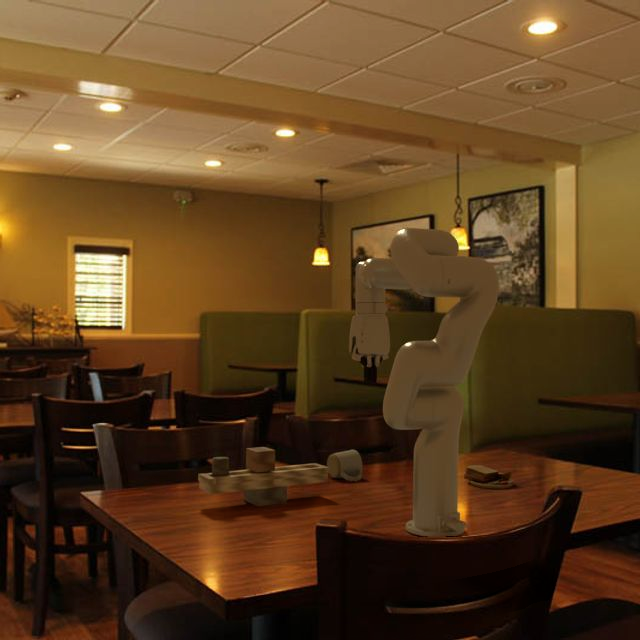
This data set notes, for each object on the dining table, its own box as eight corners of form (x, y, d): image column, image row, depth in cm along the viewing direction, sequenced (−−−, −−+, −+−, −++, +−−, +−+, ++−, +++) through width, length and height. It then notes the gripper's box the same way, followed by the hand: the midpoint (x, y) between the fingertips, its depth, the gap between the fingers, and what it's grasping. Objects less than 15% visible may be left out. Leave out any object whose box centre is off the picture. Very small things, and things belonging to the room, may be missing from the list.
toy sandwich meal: (494, 492, 216) (494, 474, 216) (456, 483, 227) (456, 466, 227) (524, 486, 224) (524, 469, 224) (485, 478, 235) (486, 462, 235)
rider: (263, 473, 204) (264, 446, 204) (274, 478, 199) (275, 450, 199) (245, 475, 202) (246, 448, 202) (256, 479, 196) (256, 451, 196)
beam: (313, 491, 213) (314, 447, 213) (329, 497, 206) (330, 452, 206) (197, 505, 196) (197, 457, 196) (210, 512, 189) (210, 462, 189)
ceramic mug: (324, 476, 234) (325, 449, 234) (348, 473, 238) (349, 447, 238) (345, 483, 225) (345, 456, 224) (369, 480, 229) (369, 453, 229)
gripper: (384, 311, 213) (384, 381, 212) (337, 310, 204) (337, 383, 204) (402, 310, 206) (402, 382, 206) (354, 309, 198) (354, 384, 198)
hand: (370, 382), depth 205 cm, fingers closed
